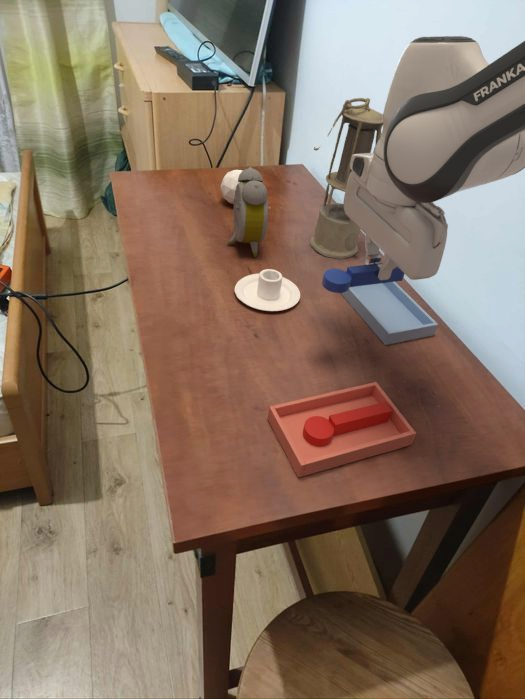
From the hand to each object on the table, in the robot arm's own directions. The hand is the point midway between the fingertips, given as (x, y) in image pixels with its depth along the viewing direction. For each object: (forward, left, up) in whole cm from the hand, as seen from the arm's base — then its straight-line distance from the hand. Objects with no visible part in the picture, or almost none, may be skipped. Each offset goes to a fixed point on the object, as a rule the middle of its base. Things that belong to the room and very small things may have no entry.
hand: (376, 271), depth 74 cm
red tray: (-15, +11, -15) cm, 24 cm away
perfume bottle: (+57, 0, -15) cm, 59 cm away
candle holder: (+18, +8, -15) cm, 25 cm away
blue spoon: (0, +2, -2) cm, 2 cm away
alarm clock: (+36, +6, -15) cm, 40 cm away
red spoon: (-15, +10, -15) cm, 23 cm away
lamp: (+32, -12, -15) cm, 37 cm away
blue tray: (+8, -11, -15) cm, 20 cm away
